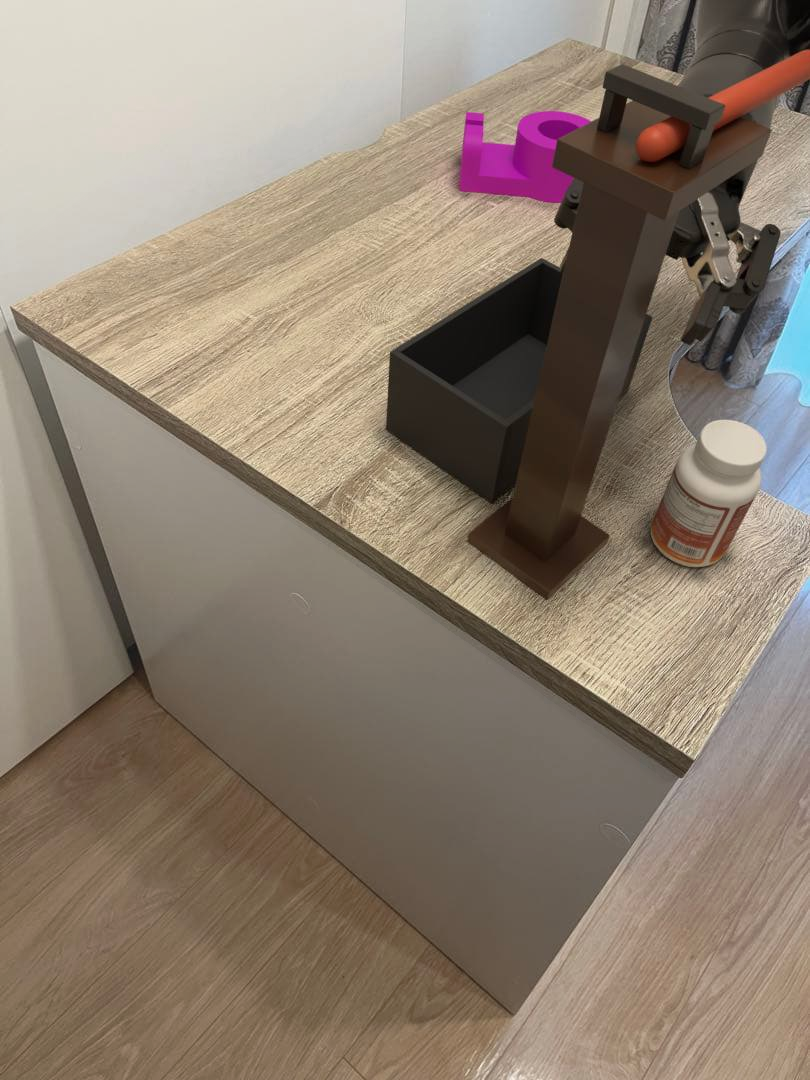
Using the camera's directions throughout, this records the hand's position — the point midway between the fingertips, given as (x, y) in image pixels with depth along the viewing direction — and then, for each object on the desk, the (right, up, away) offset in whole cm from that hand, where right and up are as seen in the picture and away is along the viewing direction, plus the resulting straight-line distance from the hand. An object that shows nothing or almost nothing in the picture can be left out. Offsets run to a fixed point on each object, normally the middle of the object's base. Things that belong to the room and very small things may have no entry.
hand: (631, 307), depth 55 cm
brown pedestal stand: (-3, -14, +15) cm, 21 cm away
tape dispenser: (0, +29, +51) cm, 59 cm away
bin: (-5, -3, +24) cm, 25 cm away
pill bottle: (+8, -15, +15) cm, 23 cm away
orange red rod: (+3, +9, -8) cm, 13 cm away
